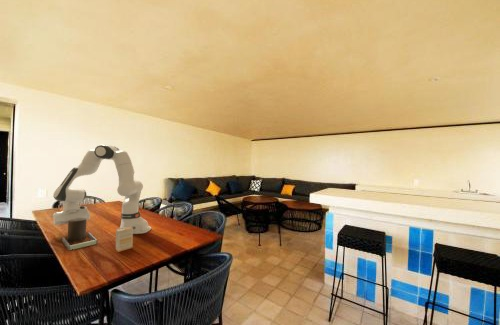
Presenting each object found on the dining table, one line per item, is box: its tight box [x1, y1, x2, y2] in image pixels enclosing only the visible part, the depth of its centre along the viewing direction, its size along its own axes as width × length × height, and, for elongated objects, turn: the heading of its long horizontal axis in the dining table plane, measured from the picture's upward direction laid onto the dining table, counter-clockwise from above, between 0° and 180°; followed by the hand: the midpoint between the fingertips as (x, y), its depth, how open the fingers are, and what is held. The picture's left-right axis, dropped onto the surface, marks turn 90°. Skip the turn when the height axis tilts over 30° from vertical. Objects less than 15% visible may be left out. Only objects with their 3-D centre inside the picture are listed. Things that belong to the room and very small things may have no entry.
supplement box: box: [115, 226, 134, 253], centre depth 126 cm, size 8×5×13 cm, turn 141°
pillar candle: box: [66, 218, 88, 243], centre depth 138 cm, size 10×10×15 cm
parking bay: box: [61, 231, 98, 251], centre depth 133 cm, size 20×14×2 cm
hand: (73, 226), depth 145 cm, fingers closed
